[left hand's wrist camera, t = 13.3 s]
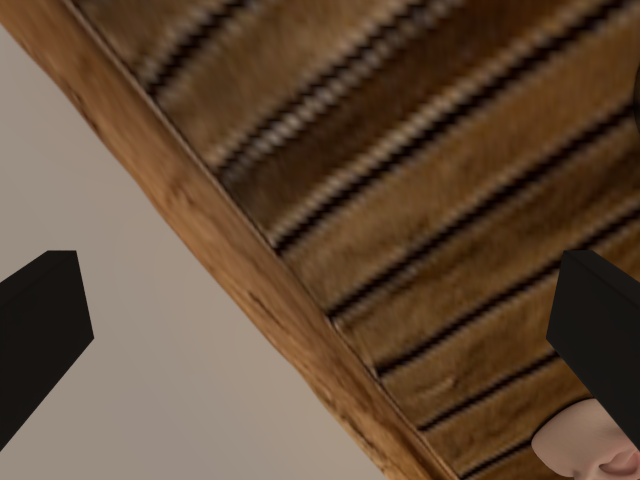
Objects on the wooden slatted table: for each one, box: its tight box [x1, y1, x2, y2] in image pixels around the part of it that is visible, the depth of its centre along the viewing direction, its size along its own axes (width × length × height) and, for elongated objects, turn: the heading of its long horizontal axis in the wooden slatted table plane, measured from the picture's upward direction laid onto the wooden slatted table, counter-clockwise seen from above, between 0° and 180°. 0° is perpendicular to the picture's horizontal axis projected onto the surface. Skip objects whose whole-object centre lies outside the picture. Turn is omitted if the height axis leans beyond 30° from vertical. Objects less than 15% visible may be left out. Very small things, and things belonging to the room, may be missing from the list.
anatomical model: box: [532, 399, 640, 480], centre depth 47 cm, size 13×4×12 cm
